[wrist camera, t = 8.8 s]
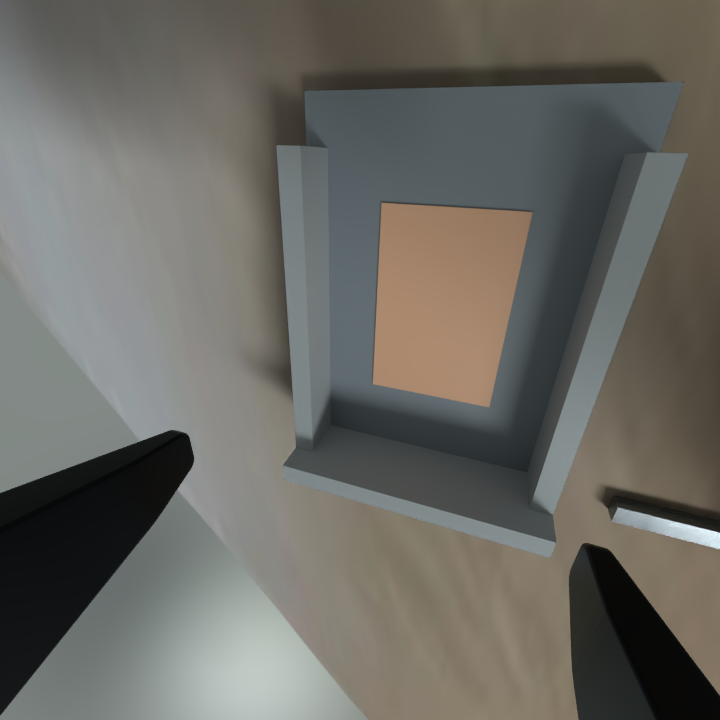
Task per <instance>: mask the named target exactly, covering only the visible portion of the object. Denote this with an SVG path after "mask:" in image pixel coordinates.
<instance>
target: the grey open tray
mask: <svg viewBox="0 0 720 720" xmlns="http://www.w3.org/2000/svg"><path fill="white" fill-rule="evenodd" d="M683 84H684V82H649V83H608V84H567V85H527V86H486V87H445V88H404V89H363V90H322V91H304V99H305V128H306V146H292V145H276V148H277V163H278V178H279V193H280V208H281V223H282V238H283V253H284V268H285V283H286V299H287V314H288V329H289V344H290V359H291V374H292V389H293V404H294V419H295V434H296V449H295V450H294V451H293V453H292V454H291V455H290V457H289V458H288V459H287V461H286V462H285V463H284V465H283V473H284V480H287V481H290V482H293V483H297V484H300V485H304V486H307V487H310V488H314V489H317V490H321V491H324V492H327V493H331V494H334V495H338V496H341V497H344V498H348V499H351V500H355V501H358V502H361V503H365V504H368V505H372V506H375V507H378V508H382V509H385V510H389V511H392V512H395V513H399V514H402V515H406V516H409V517H412V518H416V519H419V520H423V521H426V522H429V523H433V524H436V525H440V526H443V527H446V528H450V529H453V530H457V531H460V532H463V533H467V534H470V535H474V536H477V537H480V538H484V539H487V540H491V541H494V542H497V543H501V544H504V545H508V546H511V547H514V548H518V549H521V550H525V551H528V552H531V553H535V554H538V555H542V556H545V557H548V558H550V557H551V555H552V552H553V550H554V547H555V545H556V537H555V529H554V521H553V513H554V511H555V508H556V505H557V503H558V500H559V497H560V495H561V492H562V489H563V487H564V484H565V481H566V479H567V476H568V473H569V471H570V468H571V465H572V463H573V460H574V457H575V455H576V452H577V449H578V447H579V444H580V441H581V439H582V436H583V433H584V431H585V428H586V425H587V423H588V420H589V417H590V415H591V412H592V409H593V407H594V404H595V401H596V399H597V396H598V393H599V391H600V388H601V385H602V383H603V380H604V377H605V375H606V372H607V369H608V367H609V364H610V361H611V359H612V356H613V353H614V351H615V348H616V345H617V343H618V340H619V337H620V335H621V332H622V329H623V327H624V324H625V321H626V319H627V316H628V313H629V311H630V308H631V306H632V303H633V300H634V298H635V295H636V292H637V290H638V287H639V284H640V282H641V279H642V276H643V274H644V271H645V268H646V266H647V263H648V260H649V258H650V255H651V252H652V250H653V247H654V244H655V242H656V239H657V236H658V234H659V231H660V228H661V226H662V223H663V220H664V218H665V215H666V212H667V210H668V207H669V204H670V202H671V199H672V196H673V194H674V191H675V188H676V186H677V183H678V180H679V178H680V175H681V172H682V170H683V167H684V164H685V162H686V159H687V156H688V154H689V153H660V150H661V148H662V145H663V142H664V139H665V136H666V133H667V130H668V127H669V124H670V121H671V118H672V116H673V113H674V110H675V107H676V104H677V101H678V98H679V95H680V92H681V89H682V86H683Z"/></svg>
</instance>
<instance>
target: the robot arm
mask: <svg viewBox="0 0 720 720" xmlns="http://www.w3.org/2000/svg"><path fill="white" fill-rule="evenodd" d="M193 463H194V455H193V451H192V447H191V442H190V438H189V436H188V435H187V434H186V433H183V432H180V431H176V430H170V431H167V432H164V433H162V434H159V435H156V436H154V437H151V438H148V439H146V440H143V441H140V442H137V443H135V444H132V445H129V446H127V447H124V448H121V449H118V450H116V451H113V452H110V453H108V454H105V455H102V456H100V457H97V458H94V459H91V460H89V461H86V462H83V463H81V464H78V465H75V466H72V467H70V468H67V469H65V470H61V471H59V472H56V473H53V474H51V475H48V476H45V477H43V478H40V479H37V480H34V481H32V482H29V483H26V484H23V485H21V486H18V487H15V488H13V489H10V490H7V491H5V492H2V493H0V715H1V714H2V713H3V712H4V710H5V709H6V708H7V707H8V705H9V704H10V703H11V702H12V700H13V699H14V698H15V697H16V695H17V694H18V693H19V692H20V690H21V689H22V688H23V687H24V685H25V684H26V683H27V682H28V680H29V679H30V678H31V677H32V675H33V674H34V673H35V672H36V670H37V669H38V668H39V667H40V665H41V664H42V663H43V662H44V660H45V659H46V658H47V657H48V655H49V654H50V653H51V652H52V650H53V649H54V648H55V647H56V645H57V644H58V643H59V641H60V640H61V639H62V638H63V637H64V635H65V634H66V633H67V632H68V630H69V629H70V628H71V627H72V625H73V624H74V623H75V622H76V620H77V619H78V618H79V617H80V615H81V614H82V612H84V610H85V609H86V608H87V607H88V605H89V604H90V603H91V601H92V600H93V599H94V598H95V597H96V595H97V594H98V593H99V592H100V590H101V589H102V588H103V587H104V585H105V584H106V583H107V582H108V580H109V579H110V578H111V577H112V575H113V574H114V573H115V572H116V570H117V569H118V568H119V567H120V565H121V564H122V563H123V562H124V560H125V559H126V558H127V557H128V555H129V554H130V553H131V552H132V550H133V549H134V548H135V547H136V545H137V544H138V543H139V542H140V540H141V539H142V538H143V537H144V535H145V534H146V533H147V532H148V530H149V529H150V528H151V527H152V525H153V524H154V523H155V521H156V520H157V519H158V517H159V516H160V514H161V513H162V511H163V510H164V508H165V507H166V505H167V504H168V502H169V501H170V499H171V498H172V496H173V495H174V493H175V492H176V490H177V489H178V487H179V486H180V484H181V483H182V481H183V480H184V478H185V477H186V475H187V474H188V472H189V471H190V469H191V468H192V466H193ZM569 598H570V629H571V658H572V673H573V682H574V690H575V697H576V704H577V711H578V718H579V720H720V695H719V694H718V693H717V691H716V690H715V689H714V687H713V686H712V685H711V683H710V682H709V681H708V679H707V678H706V677H705V675H704V674H703V673H702V671H701V670H700V669H699V668H698V666H697V665H696V664H695V662H694V661H693V660H692V658H691V657H690V656H689V654H688V653H687V652H686V650H685V649H684V648H683V646H682V645H681V644H680V642H679V641H678V640H677V638H676V637H675V636H674V634H673V633H672V632H671V630H670V629H669V628H668V626H667V625H666V624H665V622H664V621H663V620H662V618H661V617H660V616H659V614H658V613H657V612H656V610H655V609H654V608H653V607H652V605H651V604H650V603H649V601H648V600H647V599H646V597H645V596H644V595H643V593H642V592H641V591H640V589H639V588H638V587H637V585H636V584H635V583H634V581H633V580H632V579H631V577H630V576H629V575H628V573H627V572H626V571H625V569H624V568H623V567H622V565H621V564H620V563H619V561H618V560H617V559H616V557H615V556H614V555H613V554H612V552H611V551H609V550H608V549H606V548H604V547H600V546H596V545H593V544H589V543H584V544H583V545H582V546H581V548H580V550H579V552H578V554H577V556H576V559H575V561H574V563H573V565H572V567H571V570H570V575H569Z"/></svg>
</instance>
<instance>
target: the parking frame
mask: <svg viewBox="0 0 720 720" xmlns="http://www.w3.org/2000/svg"><path fill="white" fill-rule="evenodd" d="M608 511H609V514H610V518H611V521H612V522H616V523H620V524H624V525H628V526H632V527H636V528H639V529H643V530H647V531H651V532H655V533H659V534H663V535H667V536H670V537H674V538H678V539H682V540H686V541H690V542H694V543H697V544H701V545H705V546H709V547H713V548H717V549H720V521H716V520H712V519H708V518H704V517H700V516H696V515H691V514H687V513H683V512H679V511H675V510H671V509H667V508H662V507H658V506H654V505H650V504H646V503H642V502H638V501H634V500H629V499H625V498H621V497H617V496H614V498H613V500H612V502H611V504H610V506H609V508H608Z"/></svg>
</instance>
